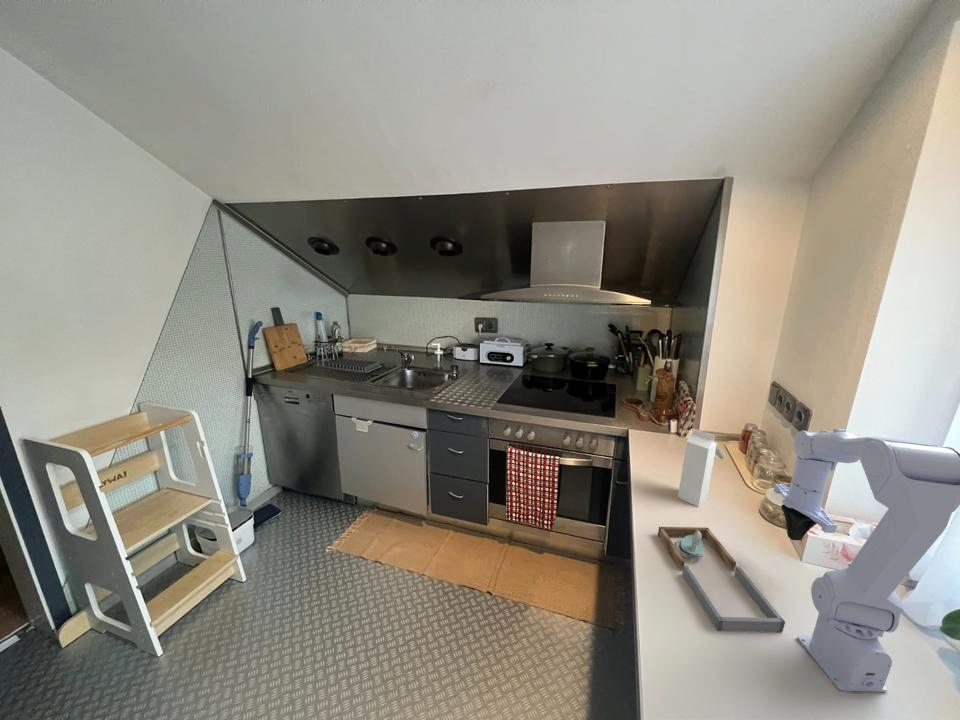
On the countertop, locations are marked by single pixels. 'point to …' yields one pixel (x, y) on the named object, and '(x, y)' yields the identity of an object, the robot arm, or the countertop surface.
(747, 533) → the countertop surface
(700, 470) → the milk
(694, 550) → the pacifier
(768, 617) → the grey bin
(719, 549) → the walnut bin
